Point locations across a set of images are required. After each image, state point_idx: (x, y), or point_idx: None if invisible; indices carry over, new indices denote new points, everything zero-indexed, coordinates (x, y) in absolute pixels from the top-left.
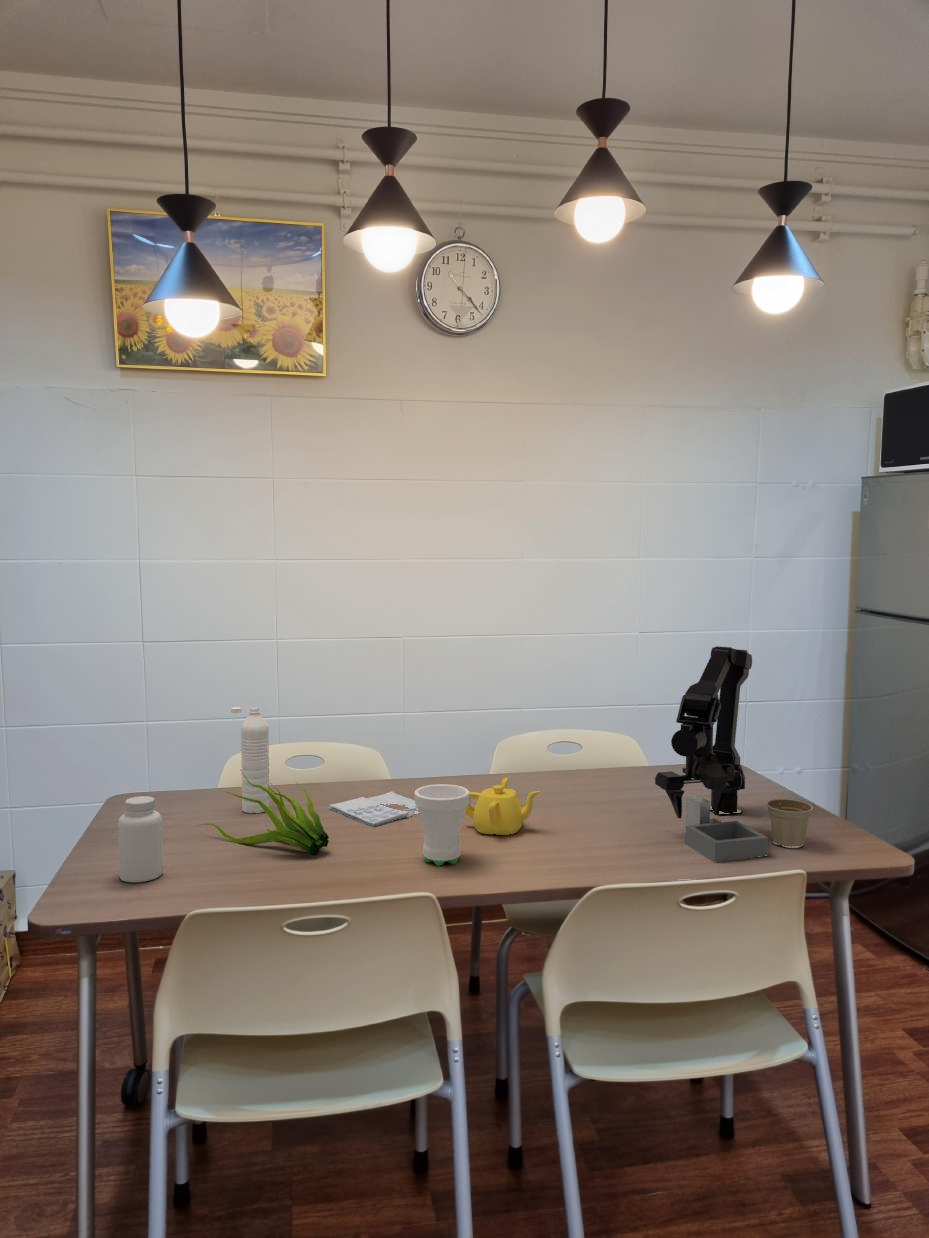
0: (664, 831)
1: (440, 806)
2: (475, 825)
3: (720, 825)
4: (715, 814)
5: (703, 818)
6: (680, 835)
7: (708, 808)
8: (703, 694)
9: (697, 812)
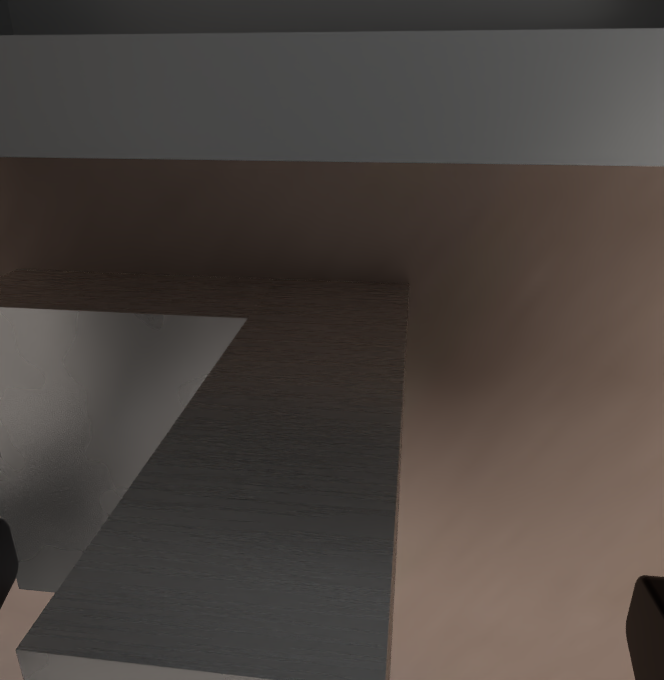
0: None
1: None
2: None
3: (153, 37)
4: (9, 540)
5: (326, 399)
6: (572, 426)
7: (159, 506)
8: None
9: (394, 544)
